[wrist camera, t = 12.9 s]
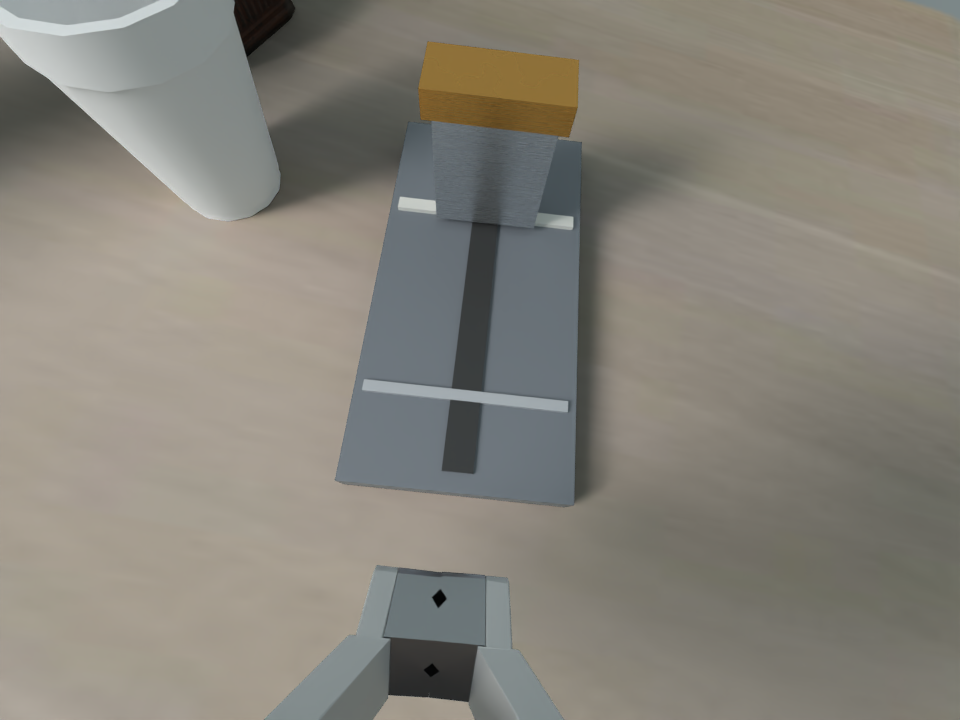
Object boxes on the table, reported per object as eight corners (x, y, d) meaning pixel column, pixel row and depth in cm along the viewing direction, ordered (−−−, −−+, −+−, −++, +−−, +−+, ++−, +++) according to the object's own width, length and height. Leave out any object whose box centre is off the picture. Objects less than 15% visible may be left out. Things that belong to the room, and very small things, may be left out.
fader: (541, 229, 28) (577, 107, 20) (428, 216, 28) (418, 88, 20) (543, 190, 29) (578, 60, 21) (434, 178, 29) (427, 41, 21)
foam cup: (299, 238, 30) (192, 35, 17) (150, 244, 29) (-72, 36, 17) (306, 128, 33) (220, -107, 21) (172, 131, 32) (0, -112, 20)
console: (564, 507, 24) (575, 505, 22) (343, 484, 24) (333, 479, 22) (574, 164, 33) (582, 138, 31) (410, 144, 33) (408, 117, 31)
